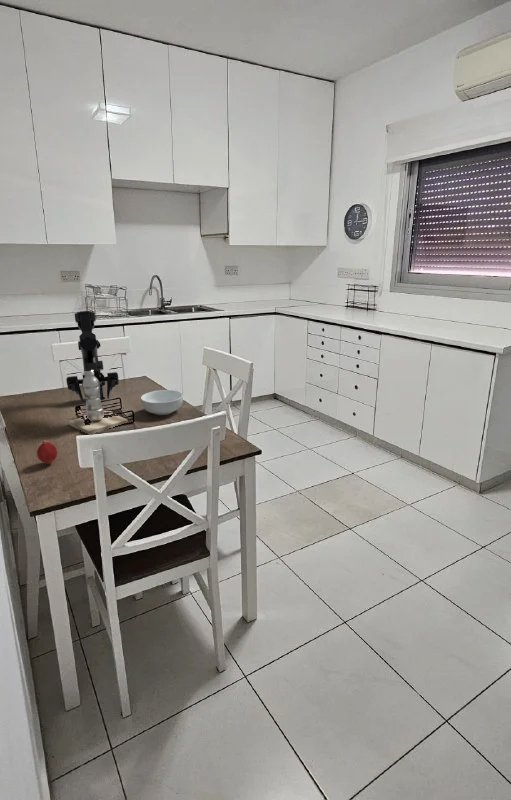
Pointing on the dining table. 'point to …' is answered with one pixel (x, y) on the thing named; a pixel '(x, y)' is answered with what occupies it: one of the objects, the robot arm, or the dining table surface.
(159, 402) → the cereal bowl
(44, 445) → the onion
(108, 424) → the birch board
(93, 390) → the plastic bottle
